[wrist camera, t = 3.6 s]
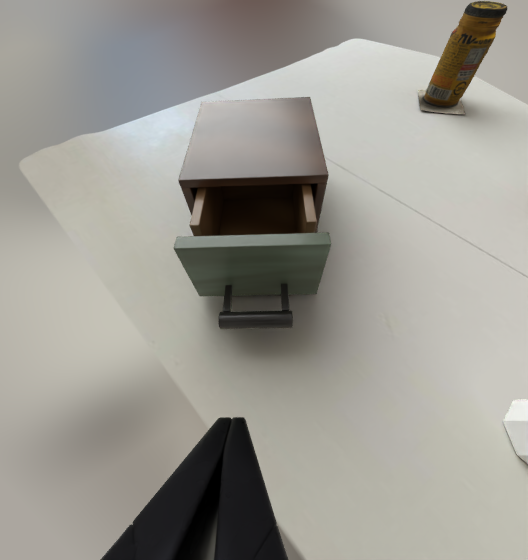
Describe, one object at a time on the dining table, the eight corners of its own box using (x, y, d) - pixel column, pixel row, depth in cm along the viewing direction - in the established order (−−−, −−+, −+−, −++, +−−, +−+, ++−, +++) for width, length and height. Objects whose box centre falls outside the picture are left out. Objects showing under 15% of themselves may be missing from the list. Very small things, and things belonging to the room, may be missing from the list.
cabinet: (313, 246, 28) (328, 174, 20) (204, 249, 28) (177, 180, 20) (302, 169, 36) (310, 96, 28) (217, 172, 36) (201, 101, 28)
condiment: (458, 94, 46) (510, -1, 36) (464, 115, 42) (524, 14, 32) (417, 91, 48) (456, -1, 37) (419, 111, 43) (463, 13, 33)
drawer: (322, 334, 21) (341, 293, 15) (193, 336, 22) (160, 297, 16) (303, 200, 31) (311, 141, 25) (214, 203, 31) (199, 146, 25)
